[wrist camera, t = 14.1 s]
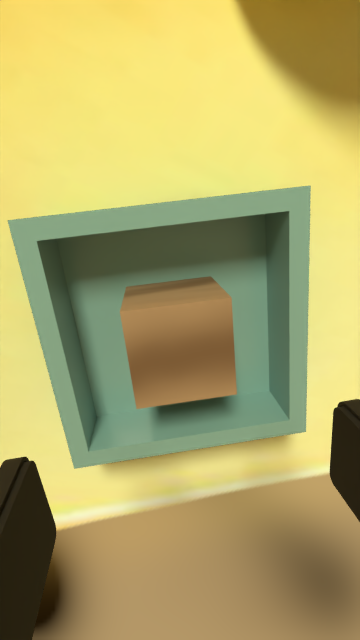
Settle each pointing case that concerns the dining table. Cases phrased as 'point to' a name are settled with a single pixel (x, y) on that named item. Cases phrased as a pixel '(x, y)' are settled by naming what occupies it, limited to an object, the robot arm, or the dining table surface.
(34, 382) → the dining table surface
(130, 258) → the stoneware box
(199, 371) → the walnut cube
